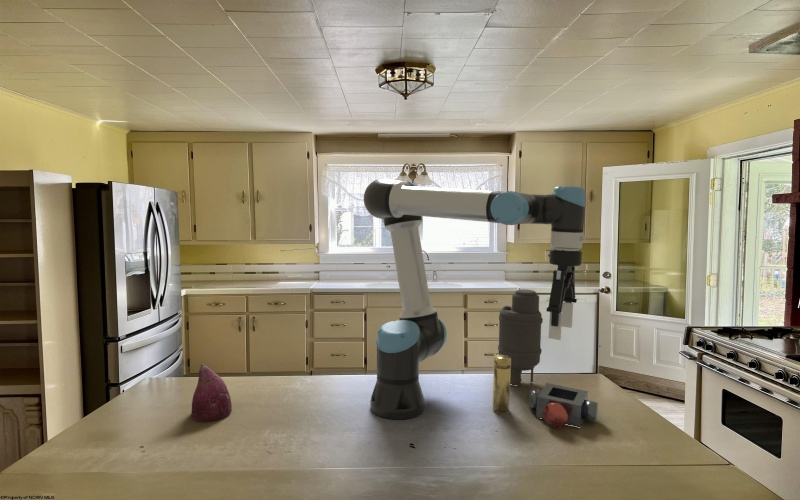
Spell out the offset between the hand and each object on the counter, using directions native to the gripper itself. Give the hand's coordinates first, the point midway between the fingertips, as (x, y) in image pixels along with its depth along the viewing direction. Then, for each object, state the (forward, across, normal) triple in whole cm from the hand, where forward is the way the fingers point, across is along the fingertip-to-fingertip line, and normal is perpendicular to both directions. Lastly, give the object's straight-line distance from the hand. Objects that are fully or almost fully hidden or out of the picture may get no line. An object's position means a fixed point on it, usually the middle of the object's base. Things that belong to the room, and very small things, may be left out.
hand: (560, 332), depth 112 cm
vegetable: (+26, -44, +79) cm, 94 cm away
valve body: (+24, +5, -1) cm, 25 cm away
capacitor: (+25, +23, +16) cm, 38 cm away
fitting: (+25, 0, +14) cm, 29 cm away
